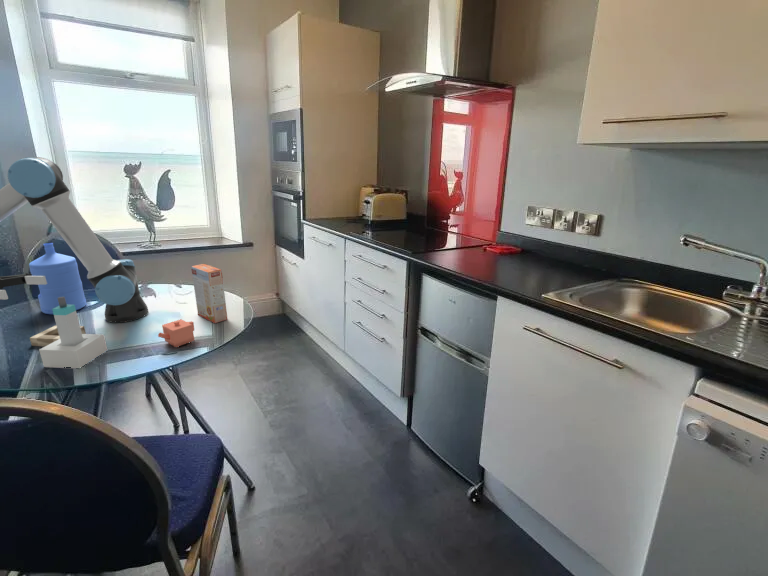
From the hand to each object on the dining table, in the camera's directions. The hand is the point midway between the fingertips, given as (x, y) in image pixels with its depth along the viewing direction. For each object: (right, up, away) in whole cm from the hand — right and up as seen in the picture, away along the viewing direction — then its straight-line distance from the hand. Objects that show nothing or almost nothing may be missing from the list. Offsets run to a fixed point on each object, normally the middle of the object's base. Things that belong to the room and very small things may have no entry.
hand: (26, 287), depth 129 cm
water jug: (-26, -9, +50) cm, 57 cm away
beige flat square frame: (-6, -19, +21) cm, 29 cm away
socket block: (+10, -23, +7) cm, 26 cm away
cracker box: (+41, -12, +40) cm, 59 cm away
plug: (+10, -20, +6) cm, 24 cm away
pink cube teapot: (+38, -20, +18) cm, 46 cm away
